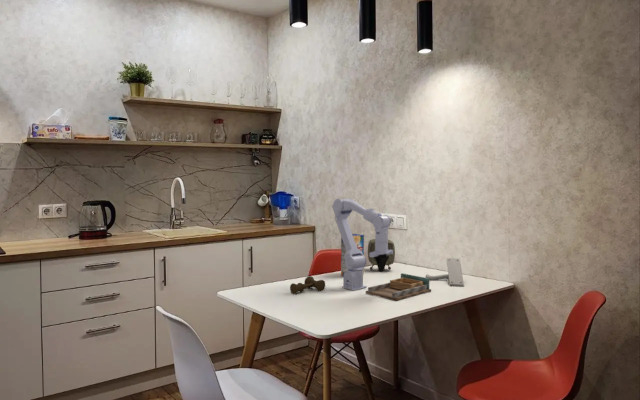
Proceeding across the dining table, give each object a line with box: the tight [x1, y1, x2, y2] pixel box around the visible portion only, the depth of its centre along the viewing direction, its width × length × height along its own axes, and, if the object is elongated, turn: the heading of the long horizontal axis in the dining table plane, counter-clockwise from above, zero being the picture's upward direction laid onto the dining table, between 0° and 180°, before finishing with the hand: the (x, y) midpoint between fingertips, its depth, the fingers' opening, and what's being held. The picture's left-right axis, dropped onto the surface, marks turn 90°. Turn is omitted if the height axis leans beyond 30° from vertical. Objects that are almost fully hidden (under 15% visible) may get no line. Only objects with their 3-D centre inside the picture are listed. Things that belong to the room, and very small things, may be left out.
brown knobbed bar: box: [289, 275, 326, 295], centre depth 225 cm, size 6×10×20 cm
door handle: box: [425, 257, 465, 287], centre depth 247 cm, size 18×8×20 cm
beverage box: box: [340, 233, 365, 277], centre depth 260 cm, size 7×11×22 cm, turn 135°
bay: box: [365, 272, 432, 302], centre depth 223 cm, size 26×18×6 cm
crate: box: [389, 277, 423, 290], centre depth 227 cm, size 10×12×3 cm
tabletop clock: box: [367, 238, 396, 270], centre depth 274 cm, size 14×9×25 cm, turn 94°
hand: (381, 271), depth 220 cm, fingers closed
